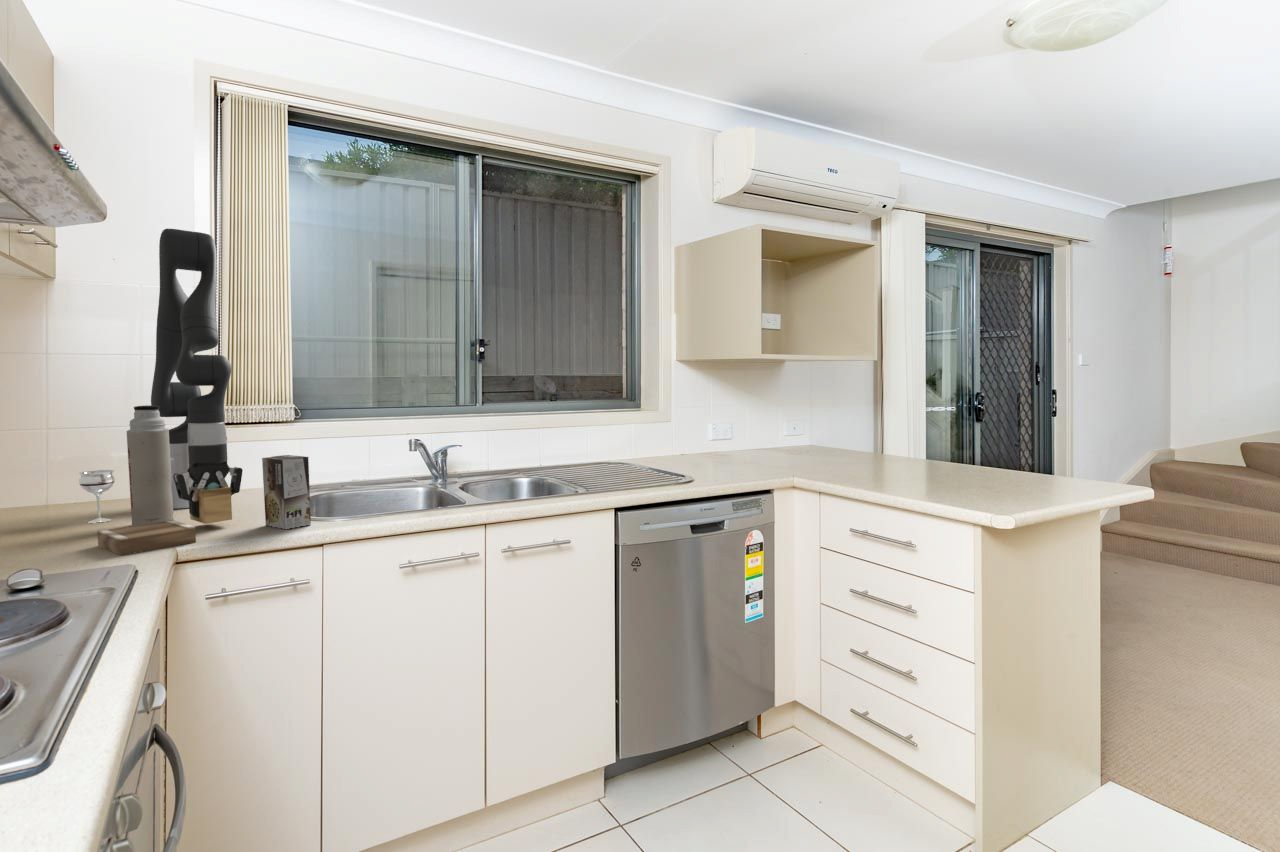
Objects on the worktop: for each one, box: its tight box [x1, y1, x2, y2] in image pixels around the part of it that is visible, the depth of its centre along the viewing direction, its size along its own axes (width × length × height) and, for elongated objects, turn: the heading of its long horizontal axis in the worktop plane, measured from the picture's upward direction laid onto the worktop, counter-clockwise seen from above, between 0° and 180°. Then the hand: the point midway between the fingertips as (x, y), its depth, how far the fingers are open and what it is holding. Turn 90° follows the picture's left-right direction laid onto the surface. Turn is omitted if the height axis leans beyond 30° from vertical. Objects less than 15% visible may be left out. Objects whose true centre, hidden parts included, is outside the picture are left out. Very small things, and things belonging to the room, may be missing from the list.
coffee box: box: [261, 454, 312, 530], centre depth 157 cm, size 9×6×16 cm
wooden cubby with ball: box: [189, 486, 233, 525], centre depth 156 cm, size 8×6×8 cm
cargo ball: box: [203, 483, 219, 490], centre depth 156 cm, size 3×3×3 cm
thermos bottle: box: [126, 405, 175, 526], centre depth 158 cm, size 8×8×28 cm
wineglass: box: [78, 469, 116, 524], centre depth 163 cm, size 7×7×12 cm
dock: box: [96, 519, 197, 556], centre depth 140 cm, size 13×13×3 cm
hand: (210, 514), depth 157 cm, fingers closed on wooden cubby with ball, 5 cm apart
